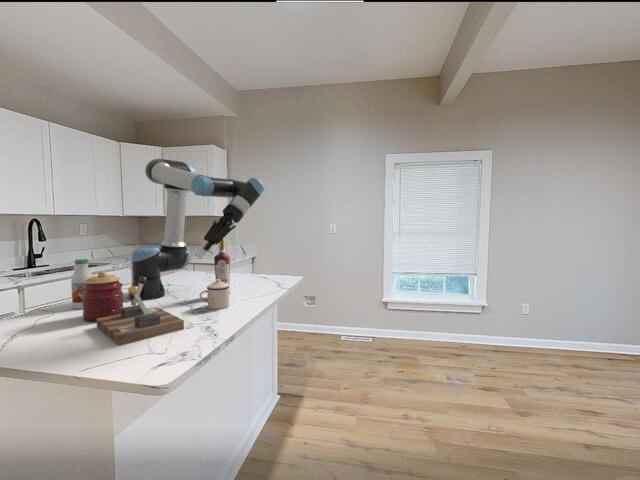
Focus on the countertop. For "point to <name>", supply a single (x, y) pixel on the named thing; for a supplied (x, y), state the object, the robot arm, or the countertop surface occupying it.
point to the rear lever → (139, 288)
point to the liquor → (222, 264)
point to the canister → (102, 297)
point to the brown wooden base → (138, 324)
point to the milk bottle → (79, 282)
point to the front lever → (138, 299)
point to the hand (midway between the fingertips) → (197, 256)
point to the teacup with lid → (217, 295)
